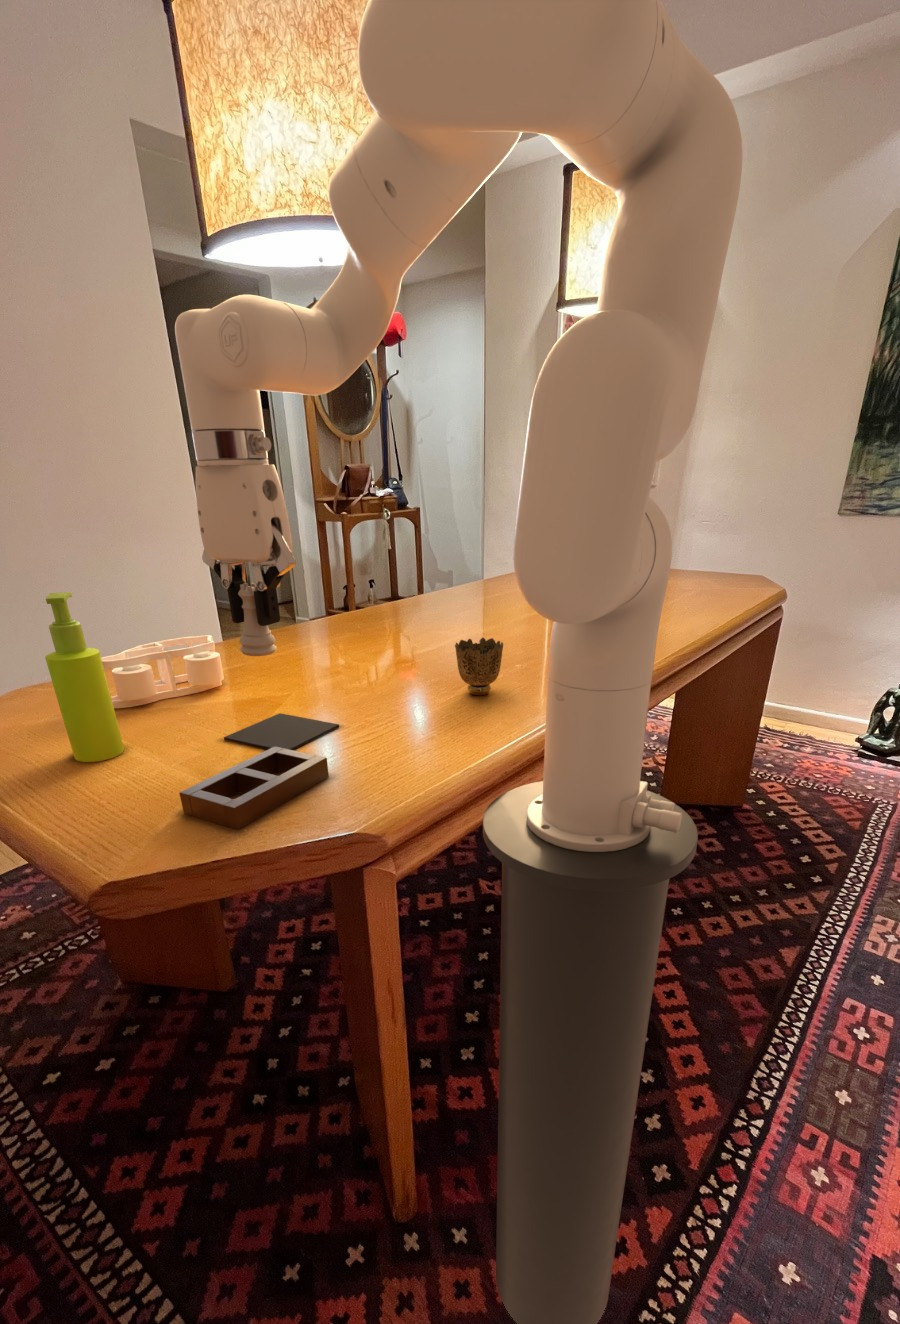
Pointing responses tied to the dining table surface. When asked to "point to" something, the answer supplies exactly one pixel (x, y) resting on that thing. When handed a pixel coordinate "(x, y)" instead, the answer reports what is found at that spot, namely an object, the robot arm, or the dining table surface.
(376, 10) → the robot arm
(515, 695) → the dining table surface
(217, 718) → the dining table surface
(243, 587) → the rook chess piece
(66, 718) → the soap dispenser
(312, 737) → the coaster
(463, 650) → the cup
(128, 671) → the skeletal toy car
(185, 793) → the holder
